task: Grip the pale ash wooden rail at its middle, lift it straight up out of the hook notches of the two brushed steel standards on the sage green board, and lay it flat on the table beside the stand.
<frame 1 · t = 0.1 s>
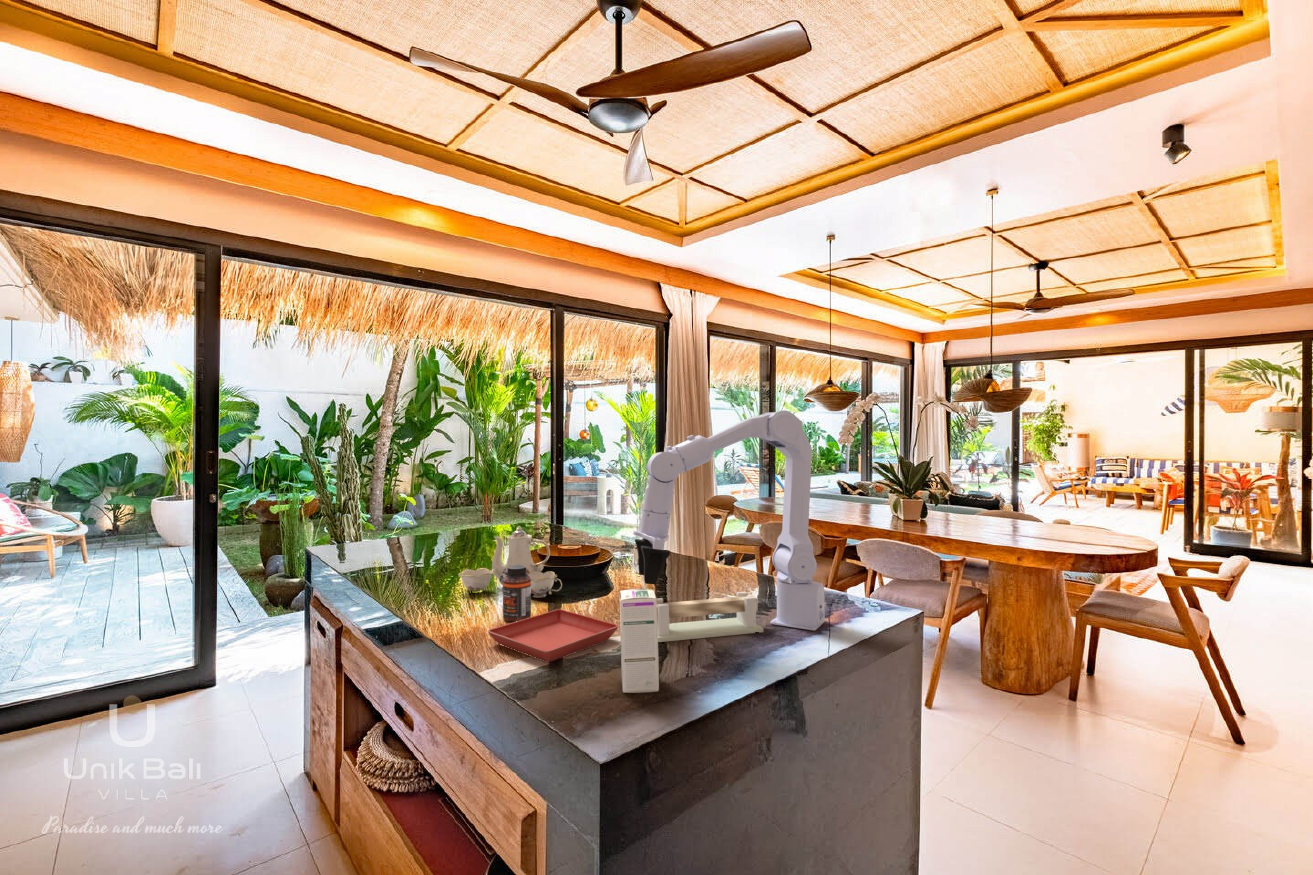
hand: (647, 579, 122), 10 cm above the table, tool pointing down, fingers open, 7 cm apart
supplement bottle: (517, 619, 132), on the table
syrup box: (639, 686, 96), on the table
wineglass: (644, 598, 149), on the table
rail stand: (704, 630, 123), on the table
chinaware: (514, 591, 157), on the table
plant saucer: (553, 645, 117), on the table
rail: (704, 613, 123), point 3 cm above the table, touching rail stand
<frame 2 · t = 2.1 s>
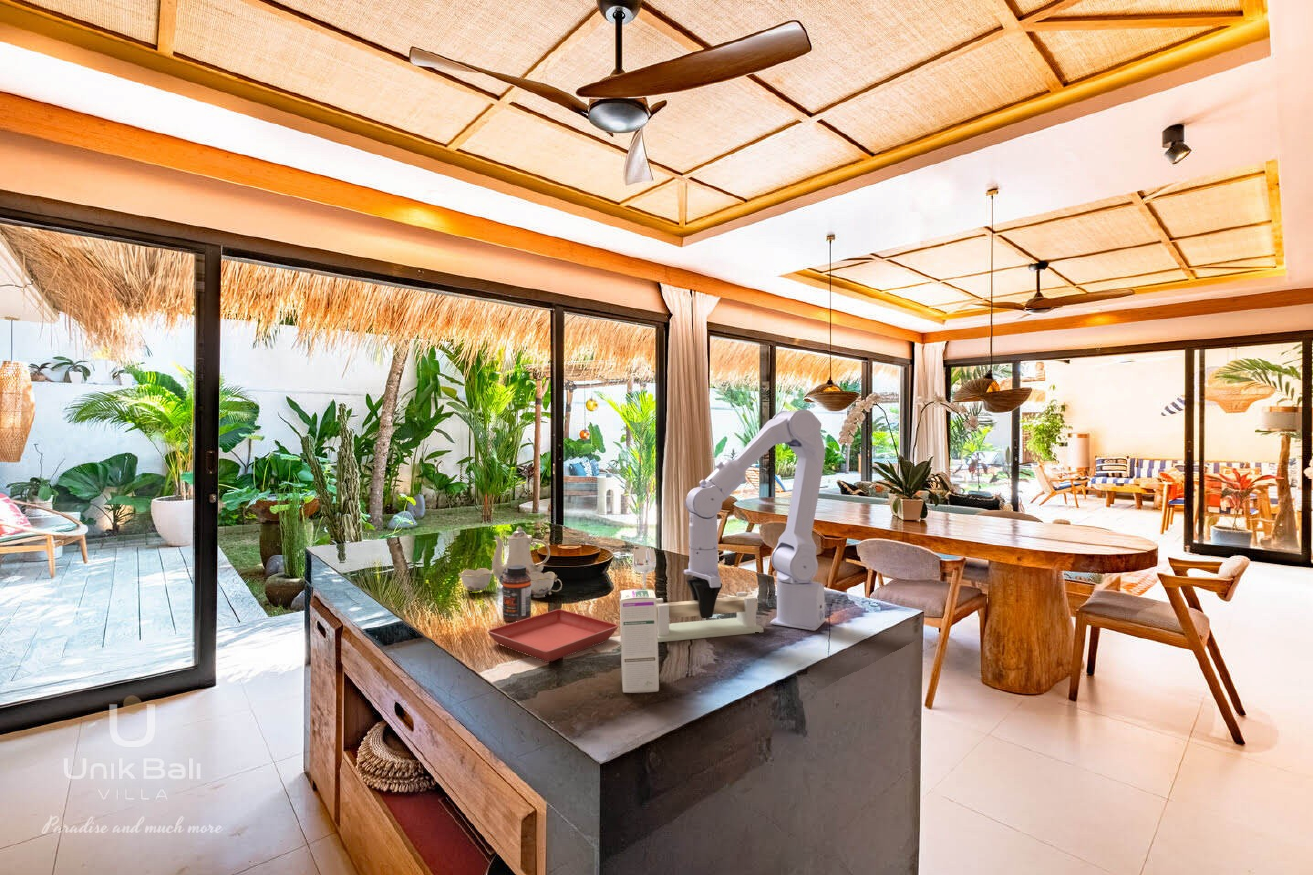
hand: (704, 615, 123), 3 cm above the table, tool pointing down, fingers closed on rail, 2 cm apart
rail: (704, 613, 123), point 3 cm above the table, touching gripper, rail stand
everything else where it was.
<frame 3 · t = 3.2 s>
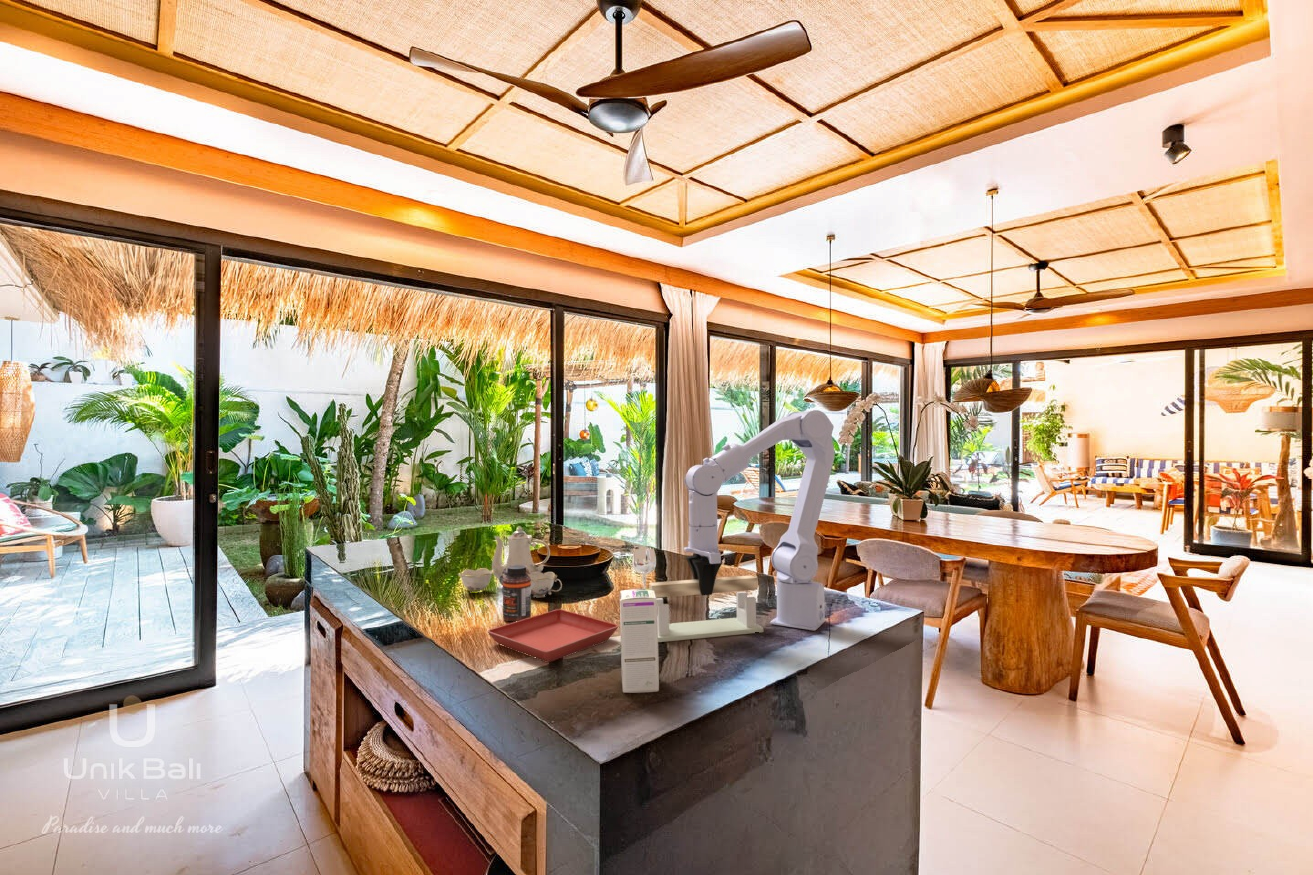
hand: (704, 592, 123), 8 cm above the table, tool pointing down, fingers closed on rail, 2 cm apart
rail: (704, 592, 123), point 8 cm above the table, touching gripper
everything else where it was.
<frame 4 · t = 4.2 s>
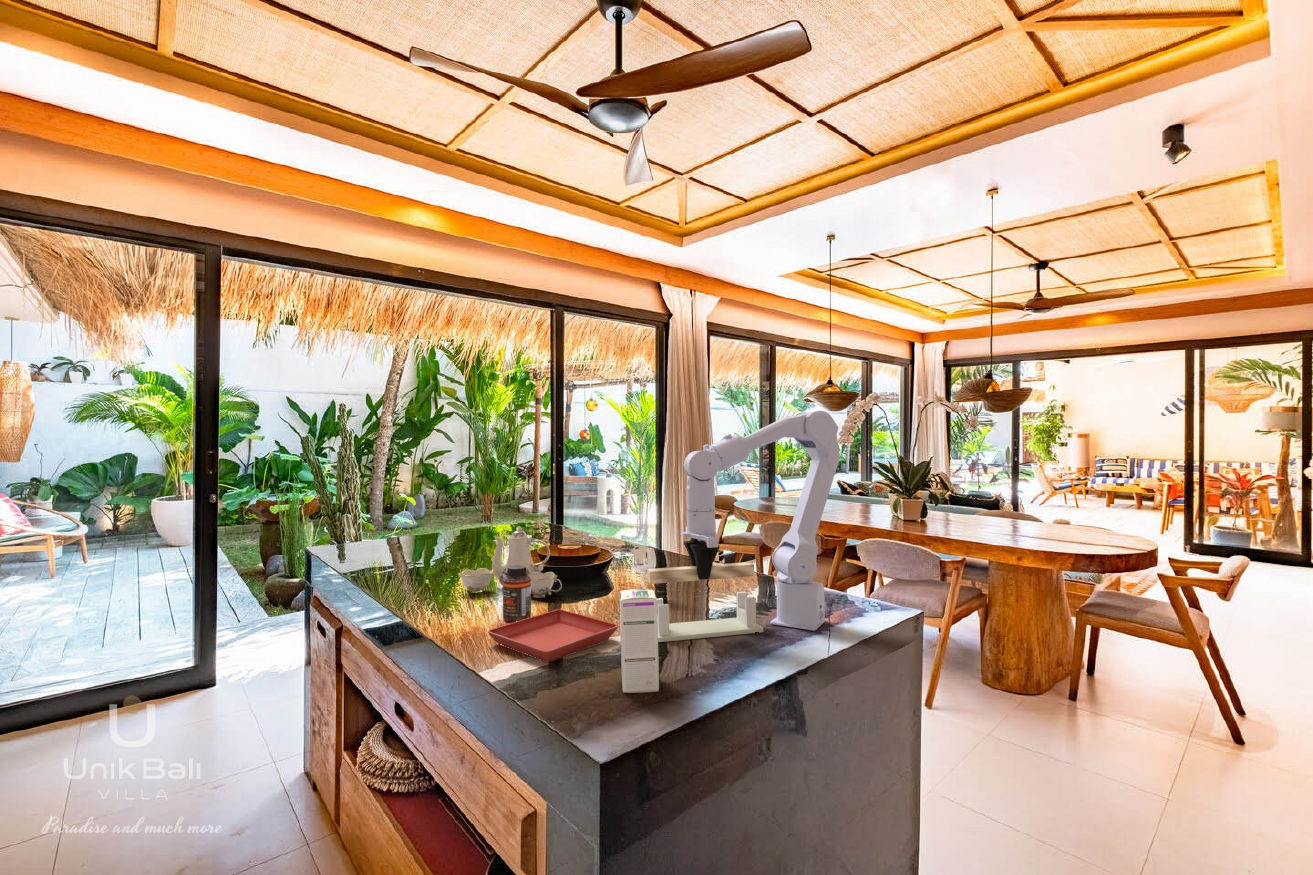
hand: (701, 577, 124), 10 cm above the table, tool pointing down, fingers closed on rail, 2 cm apart
rail: (701, 578, 124), point 10 cm above the table, touching gripper
everything else where it was.
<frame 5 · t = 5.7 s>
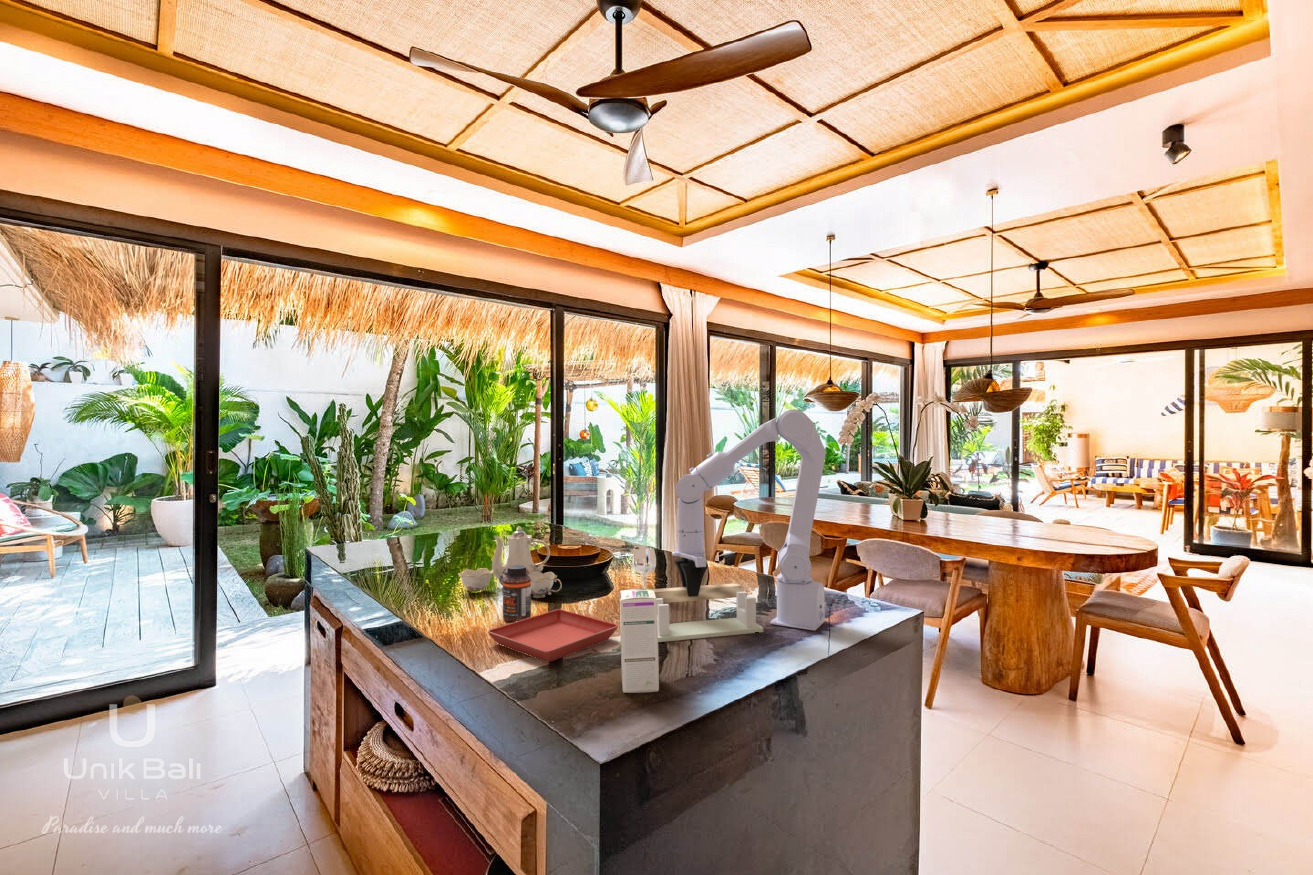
hand: (691, 594, 131), 5 cm above the table, tool pointing down, fingers closed on rail, 2 cm apart
rail: (691, 599, 131), point 4 cm above the table, touching gripper
everything else where it was.
when the fingers open (2 cm above the table, at t = 6.6 s): rail stays where it is, on the table.
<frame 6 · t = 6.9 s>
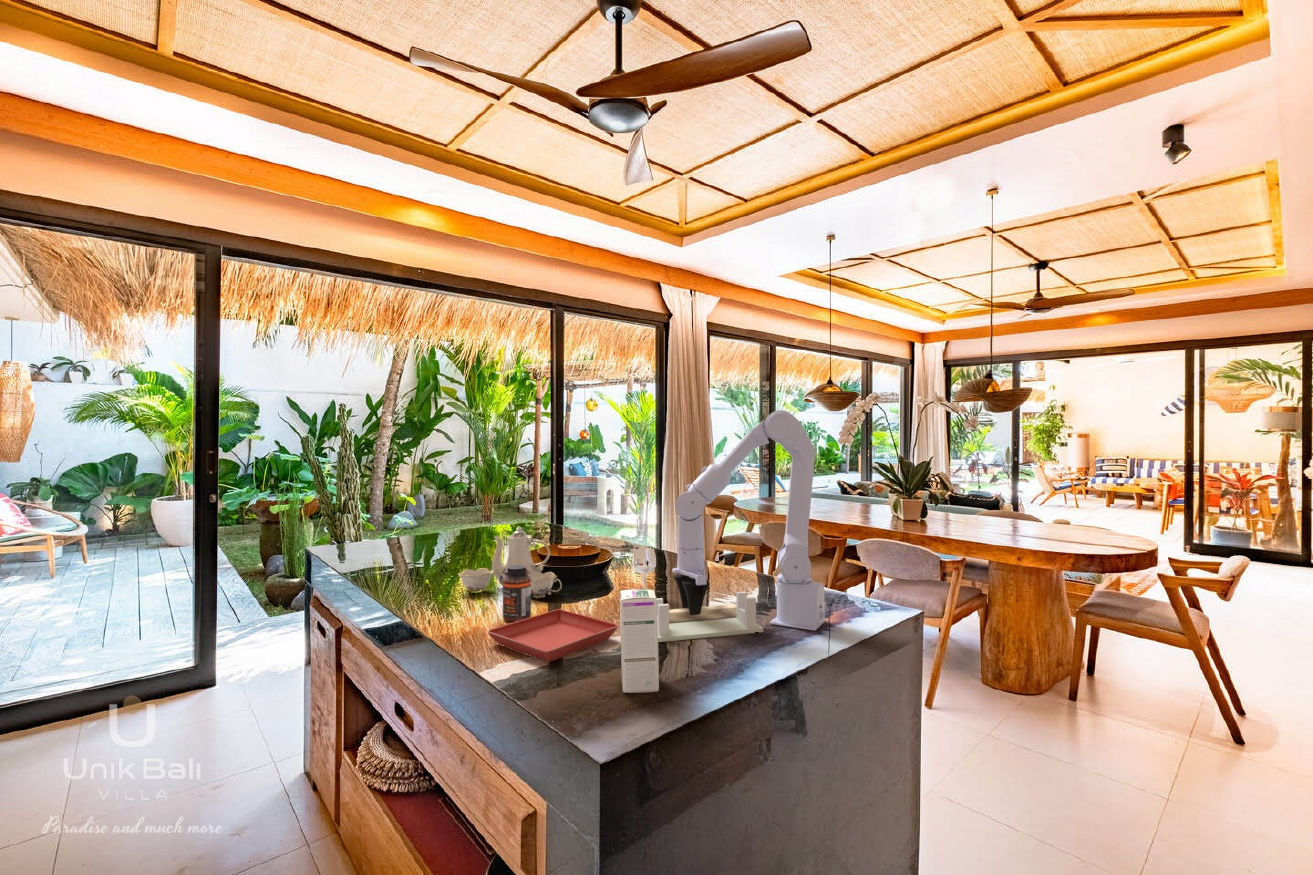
hand: (691, 611, 131), 2 cm above the table, tool pointing down, fingers open, 4 cm apart
rail: (691, 620, 131), on the table
everything else where it was.
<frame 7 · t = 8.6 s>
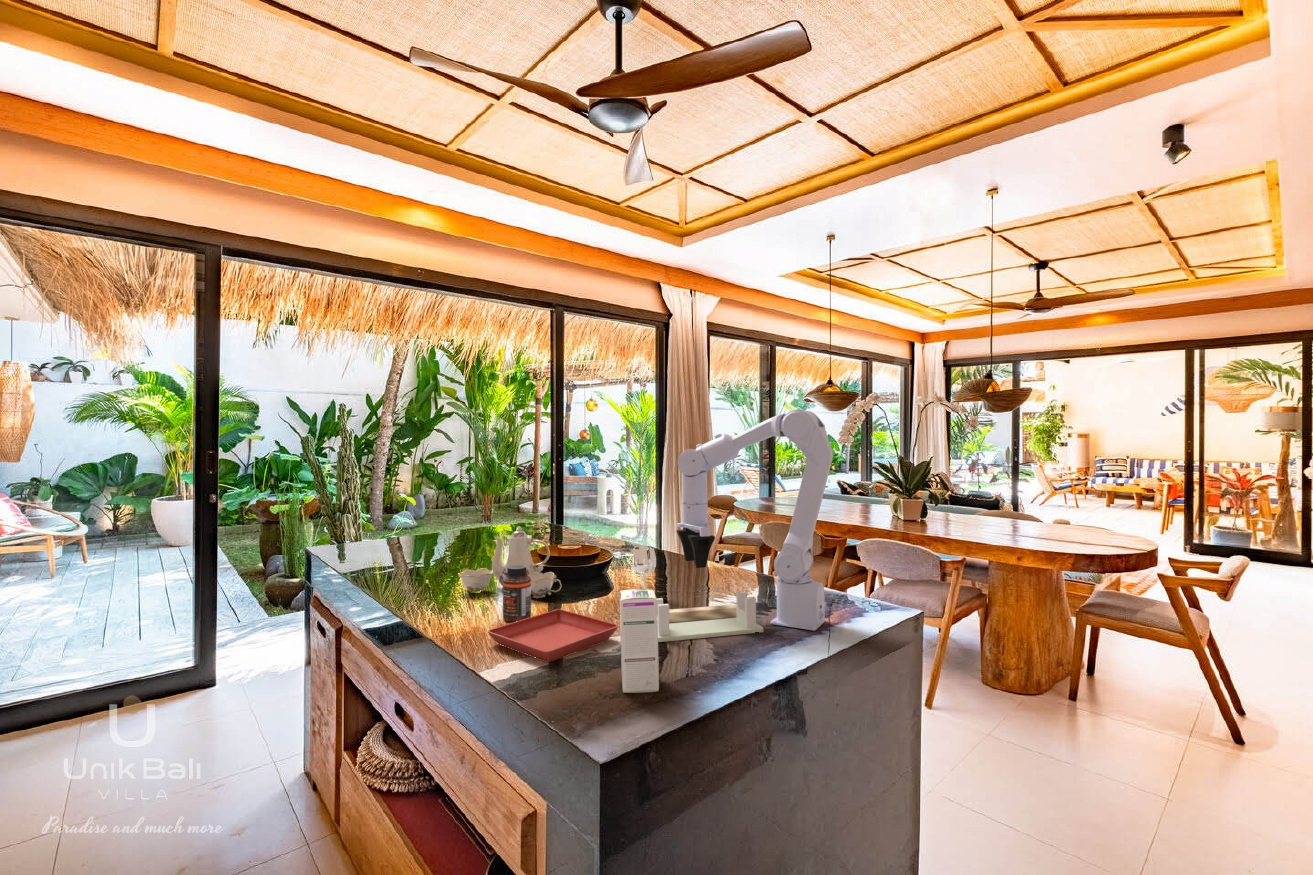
hand: (695, 563, 137), 10 cm above the table, tool pointing down, fingers open, 7 cm apart
nothing on the table moved.
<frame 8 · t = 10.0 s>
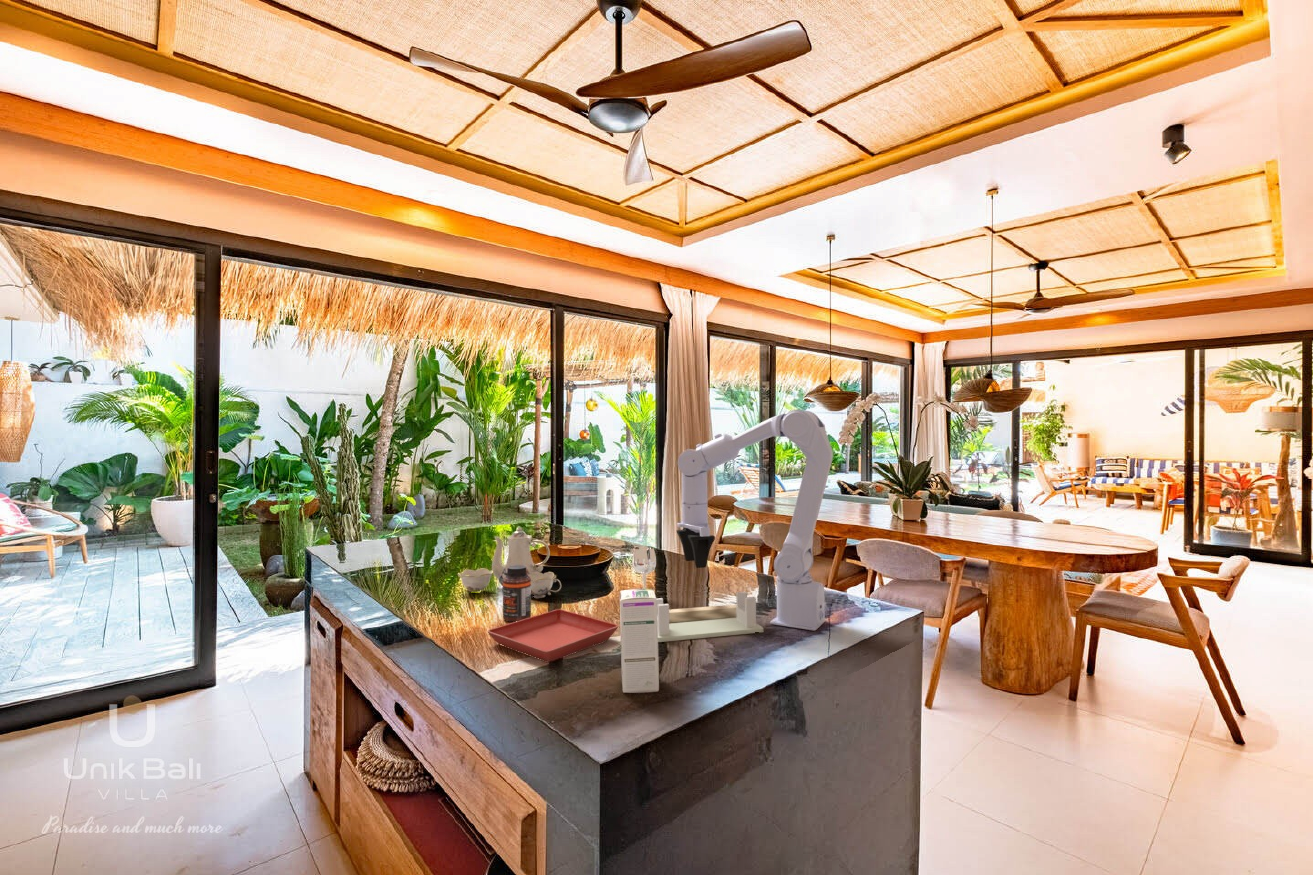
hand: (695, 563, 137), 10 cm above the table, tool pointing down, fingers open, 7 cm apart
nothing on the table moved.
at the end: rail inside the target area (0.1 cm from its centre), on the table; rail tilted 0°; the gripper is holding nothing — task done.
